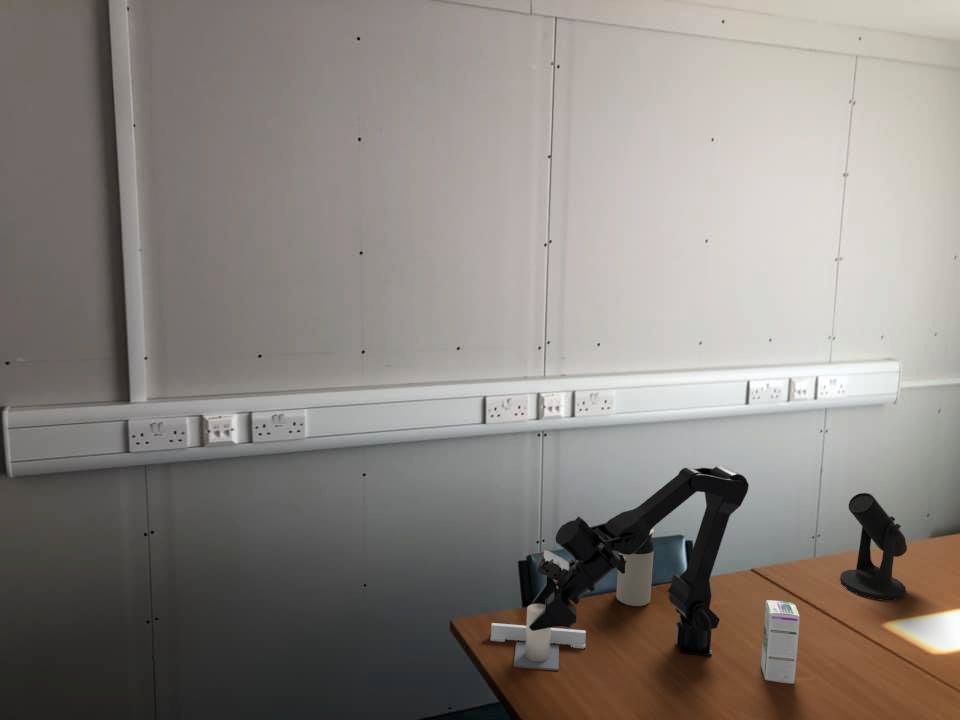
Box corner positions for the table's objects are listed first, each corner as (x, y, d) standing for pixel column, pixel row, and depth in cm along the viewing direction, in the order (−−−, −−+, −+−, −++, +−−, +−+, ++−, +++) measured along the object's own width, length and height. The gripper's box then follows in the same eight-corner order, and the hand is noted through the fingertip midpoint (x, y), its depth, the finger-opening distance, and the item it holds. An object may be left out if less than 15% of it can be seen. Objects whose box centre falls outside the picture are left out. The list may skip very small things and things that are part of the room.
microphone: (822, 578, 199) (832, 485, 195) (875, 571, 204) (886, 480, 200) (866, 604, 185) (878, 505, 181) (922, 596, 190) (935, 499, 186)
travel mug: (654, 597, 185) (659, 526, 182) (642, 610, 179) (647, 537, 176) (623, 588, 190) (628, 519, 187) (611, 601, 183) (615, 529, 180)
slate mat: (558, 647, 162) (559, 645, 162) (558, 670, 153) (558, 668, 153) (516, 643, 163) (516, 641, 163) (513, 666, 154) (513, 665, 154)
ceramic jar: (549, 649, 160) (551, 604, 159) (549, 662, 155) (551, 616, 154) (525, 647, 161) (527, 602, 159) (524, 660, 156) (526, 614, 154)
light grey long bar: (584, 641, 165) (585, 628, 164) (585, 648, 162) (585, 635, 161) (491, 633, 167) (492, 620, 166) (490, 640, 164) (491, 627, 163)
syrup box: (795, 684, 151) (802, 615, 148) (763, 680, 152) (770, 612, 150) (789, 668, 156) (796, 602, 154) (759, 664, 157) (765, 598, 155)
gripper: (561, 524, 163) (507, 569, 166) (561, 561, 144) (501, 611, 147) (597, 561, 163) (543, 606, 166) (601, 603, 145) (540, 652, 148)
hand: (531, 617), depth 157 cm, fingers open, 9 cm apart
